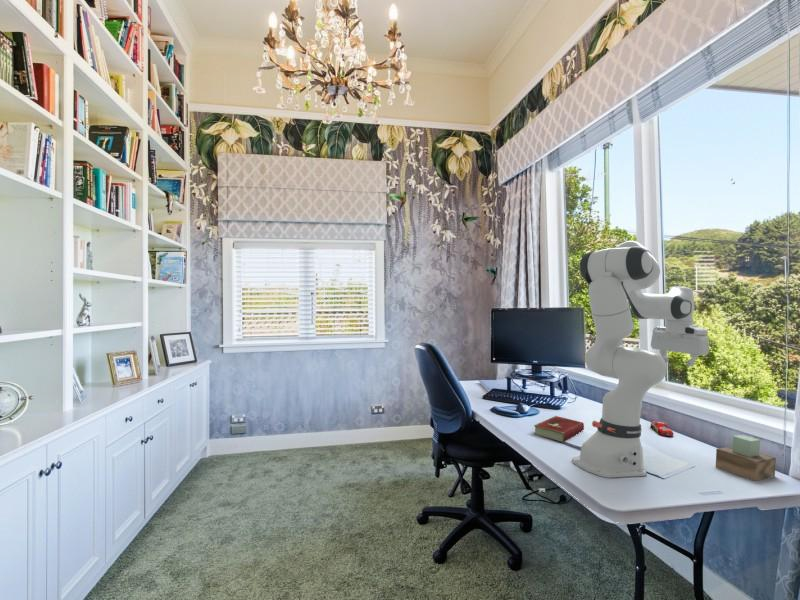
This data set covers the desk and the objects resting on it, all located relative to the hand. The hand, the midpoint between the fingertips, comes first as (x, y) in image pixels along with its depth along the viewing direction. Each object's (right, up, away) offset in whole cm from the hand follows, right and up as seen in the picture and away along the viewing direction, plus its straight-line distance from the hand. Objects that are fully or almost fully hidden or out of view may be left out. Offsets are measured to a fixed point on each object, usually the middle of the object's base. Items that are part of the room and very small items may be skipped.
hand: (677, 363), depth 156 cm
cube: (+6, -26, -24) cm, 36 cm away
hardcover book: (-43, -30, +8) cm, 53 cm away
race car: (+3, -32, +15) cm, 35 cm away
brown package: (+5, -32, -24) cm, 40 cm away
